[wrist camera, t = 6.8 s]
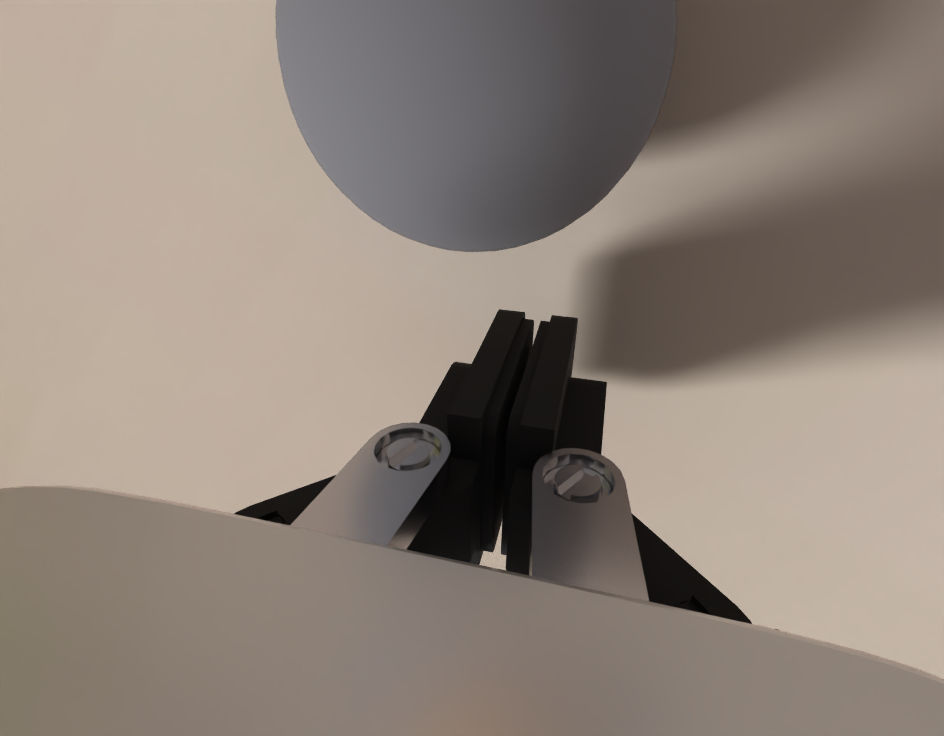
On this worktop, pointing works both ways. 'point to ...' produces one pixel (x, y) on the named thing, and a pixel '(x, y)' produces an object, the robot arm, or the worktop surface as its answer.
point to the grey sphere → (475, 107)
